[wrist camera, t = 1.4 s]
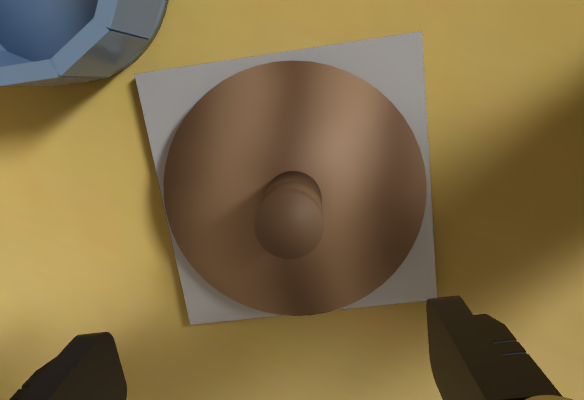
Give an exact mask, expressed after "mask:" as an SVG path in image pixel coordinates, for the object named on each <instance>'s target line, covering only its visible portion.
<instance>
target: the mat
mask: <svg viewBox="0 0 584 400" xmlns="http://www.w3.org/2000/svg"><path fill="white" fill-rule="evenodd" d="M291 60H294V61H311V62H316V63H321V64H326V65H330V66H333V67H336V68H339V69H342V70H345V71H348V72H349V73H351V74H353V75H355V76H357V77H359V78H361V79H363V80H365V81H366V82H368V83H369V84H371V85H372V86H373V87H375V88H376V89H378V90H379V91H380V92H381V93H382V94H383V95H384V96H386V97H387V98H388V99H389V100H390V101H391V102H392V103H393V104H394V106H395V107H396V108H397V109H398V110H399V112H400V113H401V114H402V115H403V117H404V118H405V120H406V121H407V123H408V125H409V126H410V128H411V130H412V131H413V133H414V136H415V138H416V140H417V143H418V145H419V147H420V150H421V154H422V158H423V161H424V165H425V173H426V181H427V199H426V206H425V213H424V218H423V221H422V225H421V228H420V231H419V234H418V236H417V238H416V241H415V243H414V245H413V247H412V249H411V250H410V252H409V254H408V255H407V257H406V259H405V260H404V262H403V263H402V264H401V265H400V267H399V268H398V269H397V270H396V272H395V273H394V274H393V275H392V276H391V277H390V278H389V279H388V280H387V281H386V282H385V283H384V284H382V285H381V286H380V287H378V288H377V289H376V290H374V291H373V292H372V293H370V294H369V295H367V296H365V297H364V298H362V299H360V300H358V301H357V302H355V303H352V304H350V305H348V306H345V307H343V308H340V309H337V310H341V309H350V308H360V307H370V306H380V305H390V304H399V303H409V302H419V301H427V299H430V298H437V286H436V269H435V252H434V234H433V217H432V200H431V182H430V165H429V148H428V130H427V113H426V96H425V78H424V61H423V44H422V31H420V32H413V33H407V34H400V35H393V36H387V37H380V38H373V39H367V40H360V41H353V42H346V43H340V44H333V45H326V46H320V47H313V48H306V49H300V50H293V51H286V52H279V53H273V54H266V55H259V56H253V57H246V58H239V59H233V60H226V61H219V62H213V63H206V64H199V65H192V66H186V67H179V68H172V69H166V70H159V71H152V72H146V73H139V74H134V75H135V79H136V84H137V88H138V93H139V97H140V101H141V106H142V110H143V115H144V119H145V124H146V128H147V133H148V137H149V142H150V146H151V151H152V155H153V160H154V164H155V169H156V173H157V178H158V182H159V187H160V191H161V196H162V200H163V205H164V209H165V203H164V188H163V180H164V171H165V164H166V160H167V156H168V152H169V148H170V146H171V143H172V141H173V138H174V136H175V133H176V131H177V130H178V128H179V126H180V124H181V123H182V121H183V119H184V118H185V116H186V115H187V114H188V112H189V111H190V110H191V109H192V107H193V106H194V105H195V104H196V103H197V102H198V101H199V100H200V99H201V98H202V97H203V96H204V95H205V94H206V93H207V92H208V91H209V90H211V89H212V88H213V87H215V86H216V85H217V84H219V83H220V82H222V81H223V80H225V79H227V78H229V77H231V76H232V75H234V74H236V73H238V72H240V71H243V70H246V69H249V68H251V67H254V66H257V65H262V64H266V63H271V62H279V61H291ZM165 214H166V209H165ZM166 218H167V215H166ZM167 222H168V218H167ZM168 227H169V231H170V236H171V240H172V245H173V249H174V254H175V258H176V263H177V267H178V272H179V276H180V281H181V285H182V290H183V294H184V299H185V303H186V308H187V312H188V317H189V321H190V325H194V324H204V323H214V322H223V321H233V320H243V319H253V318H262V317H272V316H282V315H278V314H273V313H268V312H263V311H259V310H256V309H253V308H250V307H247V306H245V305H243V304H240V303H238V302H236V301H234V300H232V299H230V298H229V297H227V296H225V295H224V294H222V293H220V292H219V291H218V290H216V289H215V288H214V287H212V286H211V285H210V284H209V283H207V282H206V281H205V280H204V279H203V278H202V277H201V276H200V275H199V274H198V273H197V272H196V271H195V270H194V268H193V267H192V266H191V264H190V263H189V262H188V261H187V259H186V258H185V256H184V255H183V253H182V251H181V250H180V248H179V246H178V245H177V242H176V240H175V238H174V236H173V233H172V231H171V228H170V225H169V222H168Z"/></svg>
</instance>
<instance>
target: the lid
mask: <svg viewBox="0 0 584 400" xmlns="http://www.w3.org/2000/svg"><path fill="white" fill-rule="evenodd" d="M163 188H164V203H165V209H166V215H167V218H168V222H169V225H170V228H171V231H172V233H173V236H174V238H175V240H176V242H177V245H178V246H179V248H180V250H181V251H182V253H183V255H184V256H185V258H186V259H187V261H188V262H189V263H190V264H191V266H192V267H193V268H194V270H195V271H196V272H197V273H198V274H199V275H200V276H201V277H202V278H203V279H204V280H205V281H206V282H207V283H209V284H210V285H211V286H212V287H214V288H215V289H216V290H218V291H219V292H220V293H222V294H224V295H225V296H227V297H229V298H230V299H232V300H234V301H236V302H238V303H240V304H243V305H245V306H247V307H250V308H253V309H256V310H259V311H263V312H268V313H273V314H278V315H291V316H301V315H314V314H320V313H326V312H330V311H333V310H337V309H340V308H343V307H345V306H348V305H350V304H352V303H355V302H357V301H358V300H360V299H362V298H364V297H365V296H367V295H369V294H370V293H372V292H373V291H374V290H376V289H377V288H378V287H380V286H381V285H382V284H384V283H385V282H386V281H387V280H388V279H389V278H390V277H391V276H392V275H393V274H394V273H395V272H396V270H397V269H398V268H399V267H400V265H401V264H402V263H403V262H404V260H405V259H406V257H407V255H408V254H409V252H410V250H411V249H412V247H413V245H414V243H415V241H416V238H417V236H418V234H419V231H420V228H421V225H422V221H423V218H424V213H425V206H426V199H427V181H426V173H425V165H424V161H423V158H422V154H421V150H420V147H419V145H418V143H417V140H416V138H415V136H414V133H413V131H412V130H411V128H410V126H409V125H408V123H407V121H406V120H405V118H404V117H403V115H402V114H401V113H400V112H399V110H398V109H397V108H396V107H395V106H394V104H393V103H392V102H391V101H390V100H389V99H388V98H387V97H386V96H384V95H383V94H382V93H381V92H380V91H379V90H378V89H376V88H375V87H373V86H372V85H371V84H369V83H368V82H366V81H365V80H363V79H361V78H359V77H357V76H355V75H353V74H351V73H349V72H348V71H345V70H342V69H339V68H336V67H333V66H330V65H326V64H321V63H316V62H311V61H294V60H291V61H279V62H271V63H266V64H262V65H257V66H254V67H251V68H249V69H246V70H243V71H240V72H238V73H236V74H234V75H232V76H231V77H229V78H227V79H225V80H223V81H222V82H220V83H219V84H217V85H216V86H215V87H213V88H212V89H211V90H209V91H208V92H207V93H206V94H205V95H204V96H203V97H202V98H201V99H200V100H199V101H198V102H197V103H196V104H195V105H194V106H193V107H192V109H191V110H190V111H189V112H188V114H187V115H186V116H185V118H184V119H183V121H182V123H181V124H180V126H179V128H178V130H177V131H176V133H175V136H174V138H173V141H172V143H171V146H170V148H169V152H168V156H167V160H166V164H165V171H164V180H163Z"/></svg>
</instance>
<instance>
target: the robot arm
mask: <svg viewBox="0 0 584 400" xmlns="http://www.w3.org/2000/svg"><path fill="white" fill-rule="evenodd" d="M426 310H427V325H428V341H429V355H430V363H431V368H432V372H433V376H434V379H435V382H436V385H437V387H438V389H439V392H440V394H441V396H442V399H443V400H572V399H569V398H565V397H563V396H562V395H561V394H560V393H559V391H558V390H557V389H556V388H555V387H554V385H553V384H552V383H551V382H550V380H549V379H548V378H547V377H546V375H545V374H544V373H543V372H542V370H541V369H540V368H539V367H538V365H537V364H536V363H535V362H534V360H533V359H532V358H531V357H530V356H529V354H526V351H525V349H524V348H523V347H522V346H521V344H520V343H519V342H517V341H516V338H515V337H514V336H513V334H512V333H511V332H510V331H509V330H508V328H507V327H506V326H505V325H504V324H502V323H501V322H499V321H497V320H496V319H494V318H492V317H491V316H489V315H487V314H480V315H473V314H472V313H471V311H470V310H469V308H468V307H467V305H466V304H465V303H464V301H463V300H462V298H461V297H460V296H449V297H440V298H430V299H427V303H426ZM126 397H127V386H126V381H125V377H124V374H123V370H122V366H121V363H120V359H119V355H118V352H117V348H116V344H115V341H114V338H113V336H112V335H111V334H110V333H109V332H101V333H91V334H82V335H77V336H76V337H74V338H73V340H72V341H71V342H70V343H69V344H68V345H67V346H66V347H65V348H64V349H63V351H62V352H61V353H60V354H59V355H58V356H57V357H56V358H54V359H53V360H51V361H50V362H48V363H47V364H45V365H44V366H43V367H41V368H40V369H38V370H37V371H36V372H35V373H34V374H33V375H32V376H31V377H30V378H29V379H28V380H27V381H26V382H25V383H24V384H23V385H22V389H19V390H18V391H17V392H16V393H15V394H14V395H13V396H12V397H11V398H10V400H126Z"/></svg>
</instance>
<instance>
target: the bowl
mask: <svg viewBox="0 0 584 400" xmlns="http://www.w3.org/2000/svg"><path fill="white" fill-rule="evenodd" d="M167 4H168V0H0V87H14V86H57V85H64V84H70V83H80V82H91V81H96V80H100V79H104V78H108V77H110V76H112V75H115V74H117V73H118V72H120V71H122V70H124V69H125V68H127V67H128V66H130V65H131V64H132V63H133V62H135V61H136V60H137V59H138V58H139V57H140V56H141V55H142V54H143V53H144V52H145V51H146V50H147V48H148V47H149V45H150V44H151V43H152V41H153V40H154V38H155V36H156V34H157V32H158V31H159V29H160V27H161V24H162V21H163V19H164V16H165V13H166V9H167Z"/></svg>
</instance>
